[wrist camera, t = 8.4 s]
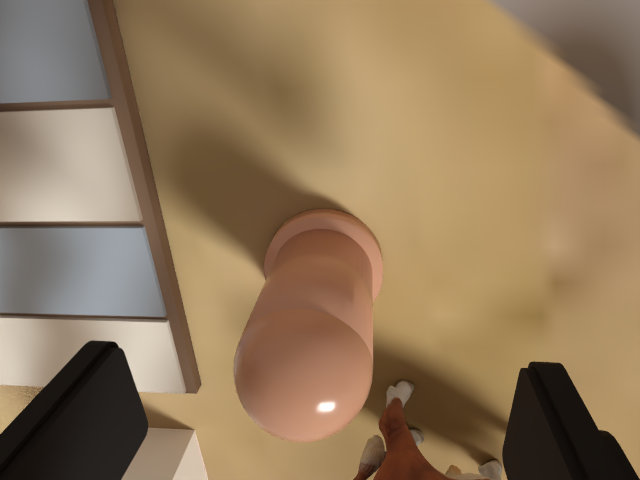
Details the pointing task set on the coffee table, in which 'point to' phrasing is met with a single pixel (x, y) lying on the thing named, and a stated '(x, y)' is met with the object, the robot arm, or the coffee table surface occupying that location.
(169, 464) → the die
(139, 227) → the board
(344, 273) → the pawn
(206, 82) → the coffee table surface
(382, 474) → the bull figurine
